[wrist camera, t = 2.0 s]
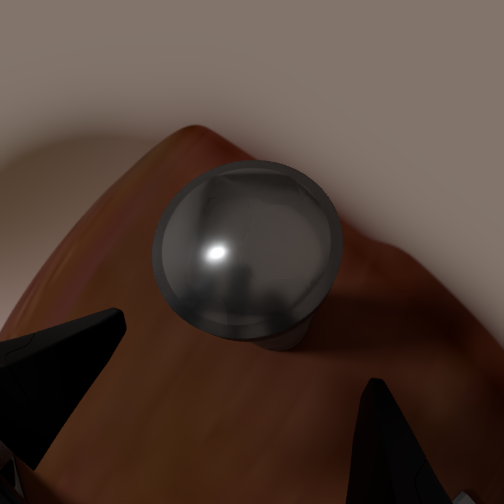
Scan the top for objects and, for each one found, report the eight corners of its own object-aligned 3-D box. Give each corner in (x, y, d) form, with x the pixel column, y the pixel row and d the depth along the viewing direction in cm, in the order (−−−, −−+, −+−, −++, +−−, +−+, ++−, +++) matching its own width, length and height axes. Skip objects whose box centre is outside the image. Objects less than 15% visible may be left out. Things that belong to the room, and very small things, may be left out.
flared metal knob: (271, 370, 18) (223, 381, 6) (226, 314, 20) (125, 233, 8) (329, 321, 19) (382, 243, 7) (281, 269, 20) (256, 135, 9)
